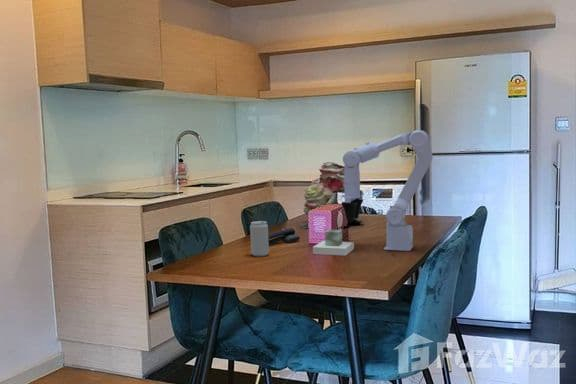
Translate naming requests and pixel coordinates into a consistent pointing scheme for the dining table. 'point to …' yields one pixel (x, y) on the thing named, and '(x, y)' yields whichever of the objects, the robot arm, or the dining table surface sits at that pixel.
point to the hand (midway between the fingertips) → (352, 219)
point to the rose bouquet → (326, 189)
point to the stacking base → (333, 249)
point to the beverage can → (259, 238)
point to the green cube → (333, 238)
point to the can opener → (287, 236)
